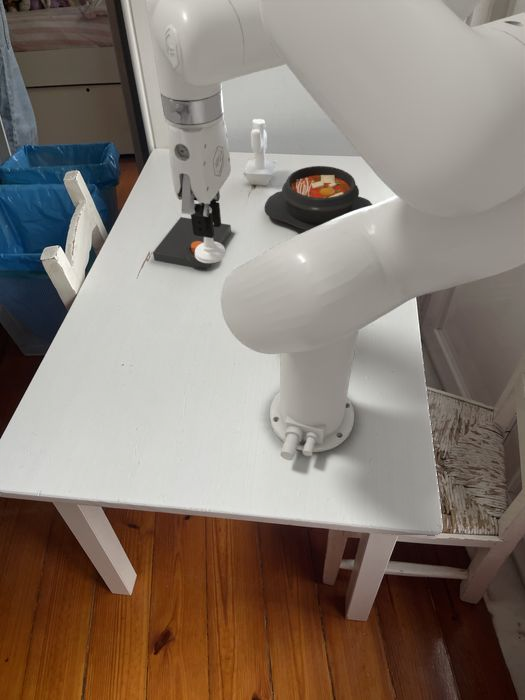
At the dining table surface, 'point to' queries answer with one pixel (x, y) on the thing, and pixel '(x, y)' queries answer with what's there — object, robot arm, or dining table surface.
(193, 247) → the button
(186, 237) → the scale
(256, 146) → the figurine
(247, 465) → the dining table surface
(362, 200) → the casserole
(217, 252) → the chess piece
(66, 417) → the dining table surface
